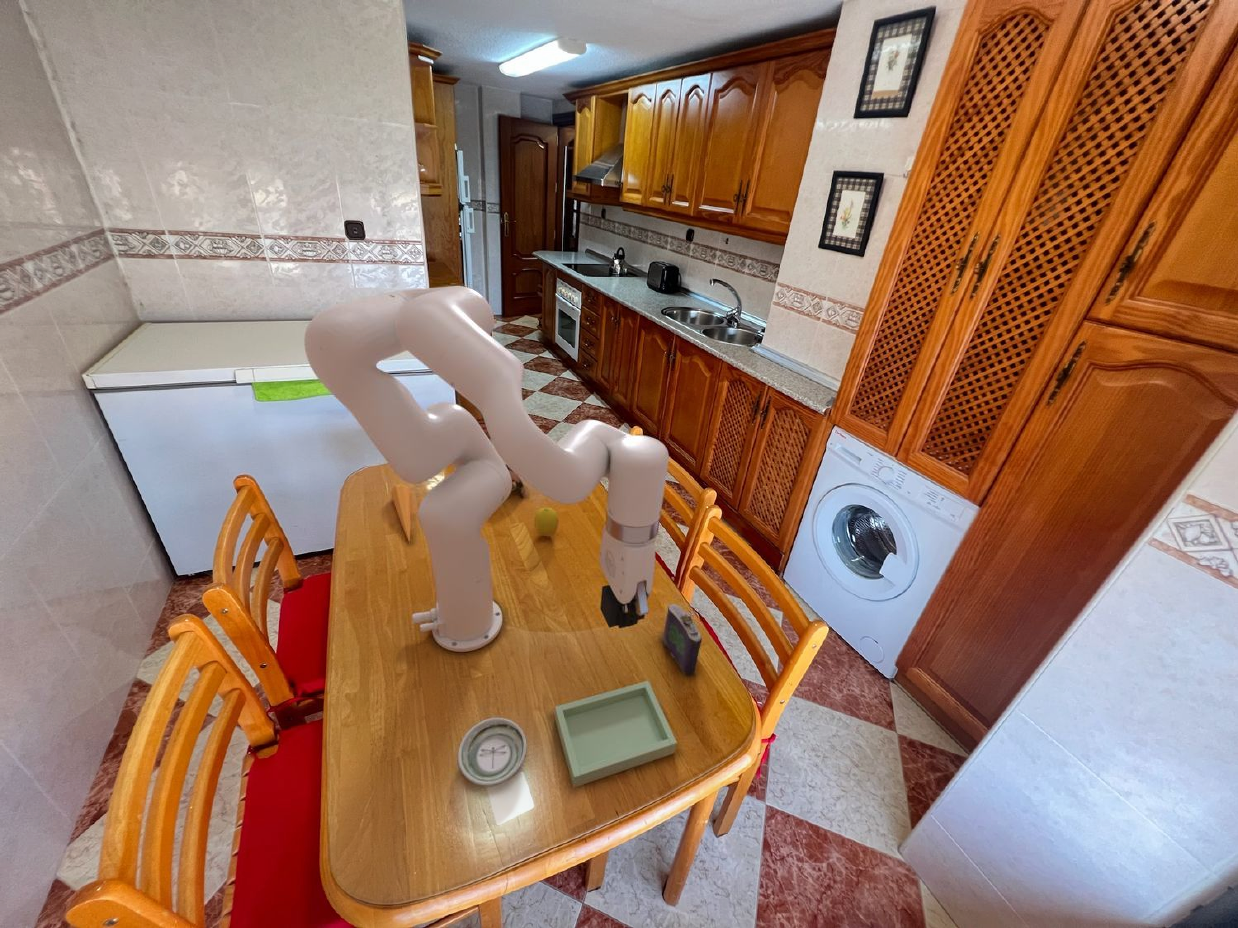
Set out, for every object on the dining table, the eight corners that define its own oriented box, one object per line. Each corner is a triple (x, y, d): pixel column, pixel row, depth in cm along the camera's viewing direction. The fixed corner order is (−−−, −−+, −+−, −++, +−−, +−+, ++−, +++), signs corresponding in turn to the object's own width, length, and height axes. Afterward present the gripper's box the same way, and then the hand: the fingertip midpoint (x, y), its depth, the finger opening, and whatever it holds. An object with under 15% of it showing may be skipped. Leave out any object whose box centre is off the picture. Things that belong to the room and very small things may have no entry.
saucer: (464, 804, 67) (463, 795, 66) (454, 738, 74) (453, 729, 73) (534, 778, 71) (534, 768, 69) (518, 717, 78) (517, 708, 77)
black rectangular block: (609, 628, 76) (611, 604, 73) (600, 609, 79) (602, 586, 77) (644, 618, 78) (647, 595, 76) (634, 600, 81) (637, 578, 79)
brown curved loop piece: (527, 505, 127) (511, 486, 122) (495, 515, 129) (477, 497, 124) (529, 471, 136) (514, 451, 130) (498, 481, 138) (482, 462, 132)
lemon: (553, 545, 114) (554, 517, 110) (530, 540, 115) (530, 512, 111) (560, 530, 119) (561, 503, 115) (538, 526, 120) (539, 499, 116)
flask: (659, 638, 94) (667, 597, 88) (672, 633, 95) (680, 593, 90) (685, 678, 87) (695, 636, 81) (699, 672, 88) (710, 631, 83)
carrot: (396, 497, 126) (386, 486, 123) (412, 489, 126) (403, 478, 123) (405, 553, 112) (394, 541, 108) (424, 543, 112) (413, 532, 109)
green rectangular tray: (573, 787, 70) (574, 777, 69) (554, 717, 79) (554, 706, 77) (674, 753, 75) (677, 742, 74) (646, 690, 84) (648, 680, 83)
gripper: (587, 492, 74) (582, 582, 84) (631, 566, 61) (619, 662, 71) (633, 485, 77) (623, 573, 86) (684, 554, 64) (666, 649, 73)
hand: (621, 612), depth 78 cm, fingers closed on black rectangular block, 4 cm apart
